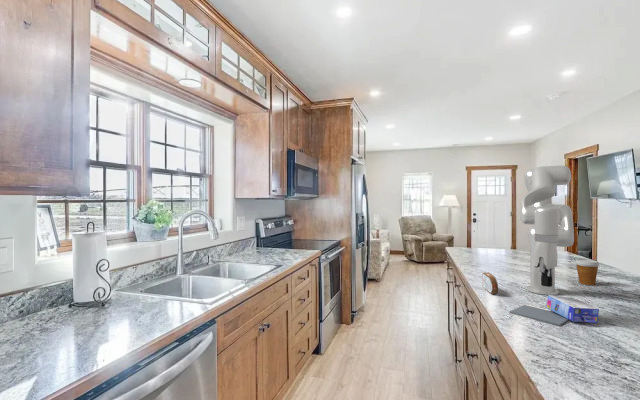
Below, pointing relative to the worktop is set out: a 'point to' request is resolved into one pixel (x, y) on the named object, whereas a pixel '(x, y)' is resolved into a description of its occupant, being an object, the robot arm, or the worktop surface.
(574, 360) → the worktop surface
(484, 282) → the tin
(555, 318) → the mat
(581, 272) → the disposable coffee cup
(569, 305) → the ink cartridge box
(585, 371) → the worktop surface
